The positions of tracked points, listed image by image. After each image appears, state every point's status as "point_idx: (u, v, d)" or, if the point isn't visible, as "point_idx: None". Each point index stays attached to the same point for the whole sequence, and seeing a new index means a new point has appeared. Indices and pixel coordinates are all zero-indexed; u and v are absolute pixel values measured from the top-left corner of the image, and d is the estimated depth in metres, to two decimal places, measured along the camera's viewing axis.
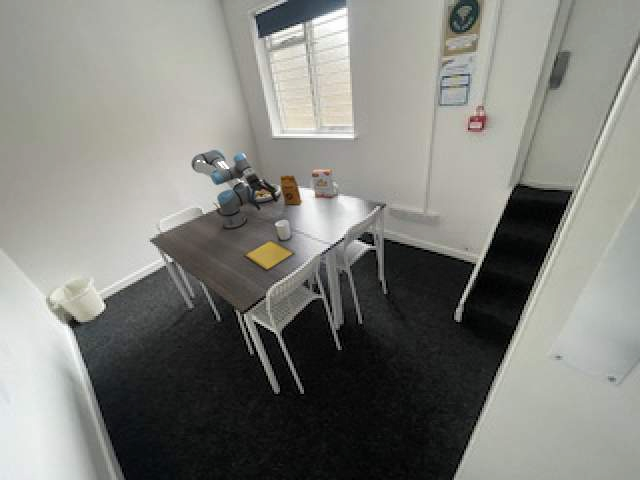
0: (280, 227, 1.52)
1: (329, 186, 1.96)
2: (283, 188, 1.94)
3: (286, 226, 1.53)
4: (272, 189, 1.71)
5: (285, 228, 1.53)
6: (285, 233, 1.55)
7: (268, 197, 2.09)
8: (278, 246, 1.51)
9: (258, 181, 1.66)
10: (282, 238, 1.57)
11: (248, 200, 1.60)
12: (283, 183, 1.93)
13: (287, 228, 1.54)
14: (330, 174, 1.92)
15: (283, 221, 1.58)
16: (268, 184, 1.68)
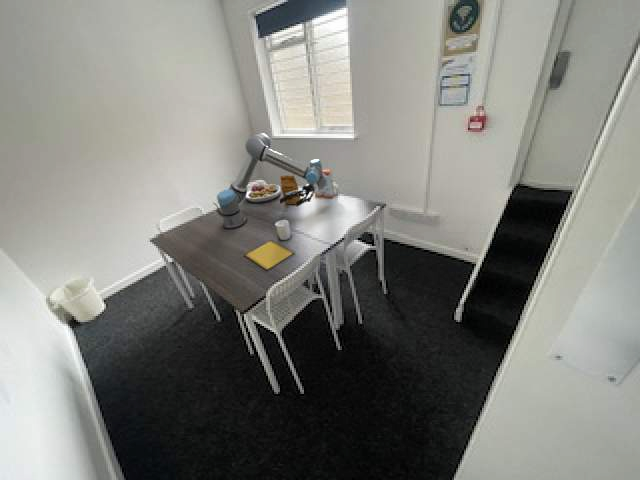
0: (280, 227, 1.52)
1: (329, 186, 1.96)
2: (283, 188, 1.94)
3: (286, 226, 1.53)
4: (286, 194, 1.66)
5: (285, 228, 1.53)
6: (285, 233, 1.55)
7: (268, 197, 2.09)
8: (278, 246, 1.51)
9: None
10: (282, 238, 1.57)
11: (309, 200, 1.55)
12: (283, 183, 1.93)
13: (287, 228, 1.54)
14: (330, 174, 1.92)
15: (283, 221, 1.58)
16: None
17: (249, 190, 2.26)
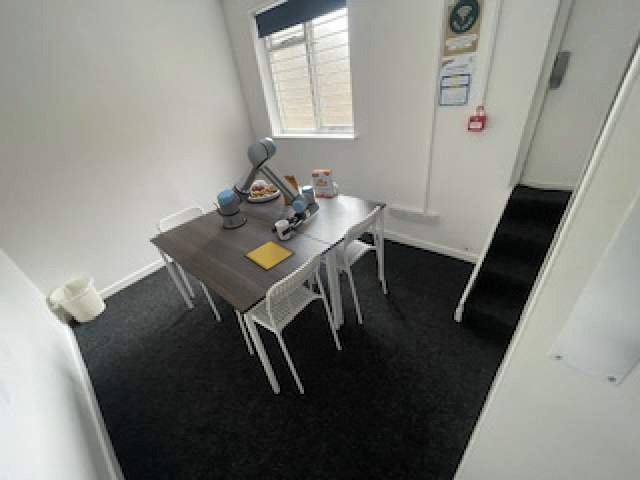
0: (280, 227, 1.52)
1: (329, 186, 1.96)
2: None
3: (286, 226, 1.53)
4: None
5: (285, 228, 1.53)
6: None
7: (268, 197, 2.09)
8: (278, 246, 1.51)
9: None
10: (282, 238, 1.57)
11: (295, 229, 1.55)
12: None
13: None
14: (330, 174, 1.92)
15: (283, 221, 1.58)
16: None
17: None
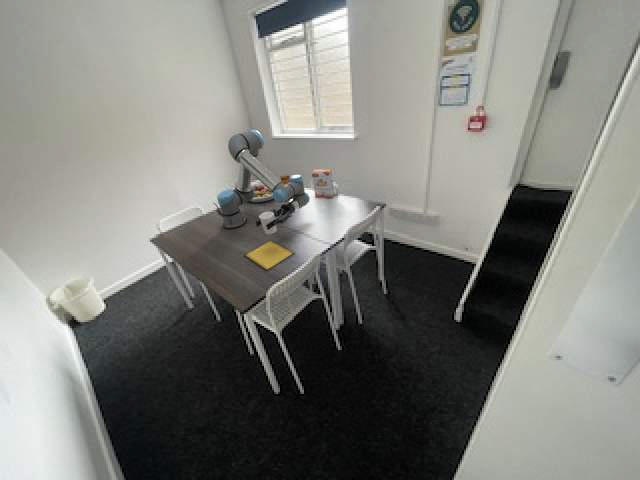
0: (264, 219, 1.36)
1: (329, 186, 1.96)
2: None
3: (271, 218, 1.37)
4: None
5: (270, 221, 1.37)
6: None
7: (268, 197, 2.09)
8: (278, 246, 1.51)
9: None
10: (267, 232, 1.41)
11: (282, 222, 1.39)
12: (283, 183, 1.93)
13: None
14: (330, 174, 1.92)
15: (268, 213, 1.42)
16: None
17: None
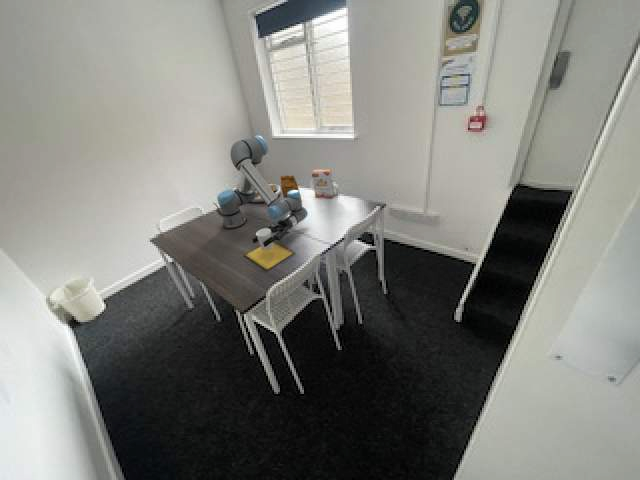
0: (261, 237, 1.35)
1: (329, 186, 1.96)
2: (283, 188, 1.94)
3: (268, 236, 1.36)
4: None
5: (267, 238, 1.36)
6: None
7: None
8: (278, 246, 1.51)
9: None
10: (264, 249, 1.39)
11: (279, 239, 1.38)
12: (283, 183, 1.93)
13: None
14: (330, 174, 1.92)
15: (265, 230, 1.41)
16: None
17: None
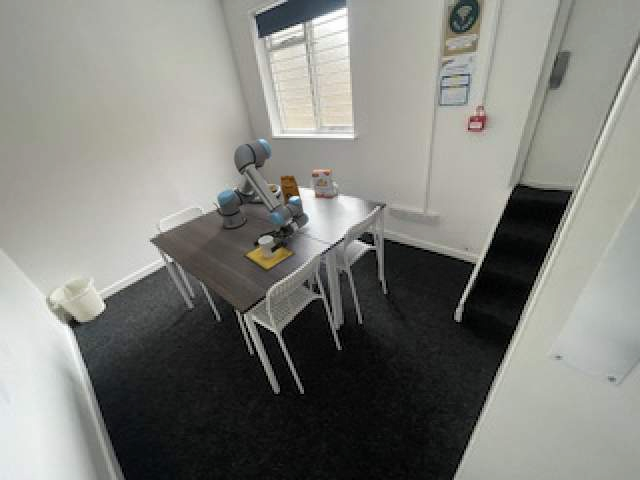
0: (263, 244, 1.37)
1: (329, 186, 1.96)
2: (283, 188, 1.94)
3: (270, 243, 1.38)
4: None
5: (269, 245, 1.38)
6: (269, 251, 1.40)
7: None
8: None
9: None
10: (266, 256, 1.42)
11: (286, 245, 1.39)
12: (283, 183, 1.93)
13: (271, 245, 1.39)
14: (330, 174, 1.92)
15: (267, 237, 1.43)
16: None
17: None
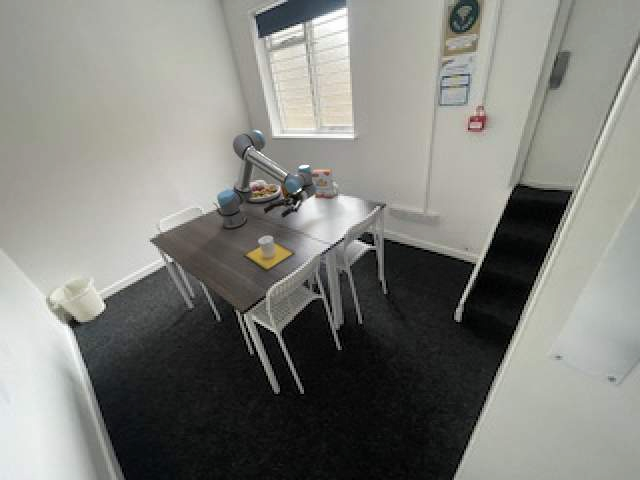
0: (263, 244, 1.37)
1: (329, 186, 1.96)
2: (283, 188, 1.94)
3: (270, 243, 1.38)
4: None
5: (269, 245, 1.38)
6: (269, 251, 1.40)
7: (268, 197, 2.09)
8: (278, 246, 1.51)
9: None
10: (266, 256, 1.42)
11: (297, 210, 1.40)
12: None
13: (271, 245, 1.39)
14: (330, 174, 1.92)
15: (267, 237, 1.43)
16: None
17: None
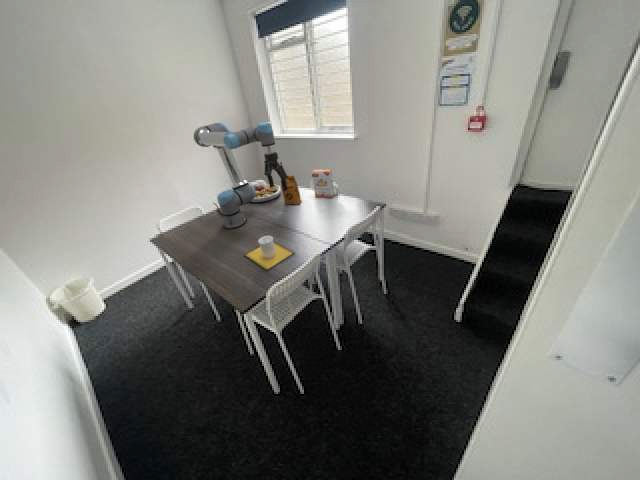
0: (263, 244, 1.37)
1: (329, 186, 1.96)
2: None
3: (270, 243, 1.38)
4: (265, 173, 1.57)
5: (269, 245, 1.38)
6: (269, 251, 1.40)
7: (268, 197, 2.09)
8: (278, 246, 1.51)
9: None
10: (266, 256, 1.42)
11: (287, 178, 1.46)
12: None
13: (271, 245, 1.39)
14: (330, 174, 1.92)
15: (267, 237, 1.43)
16: None
17: None
